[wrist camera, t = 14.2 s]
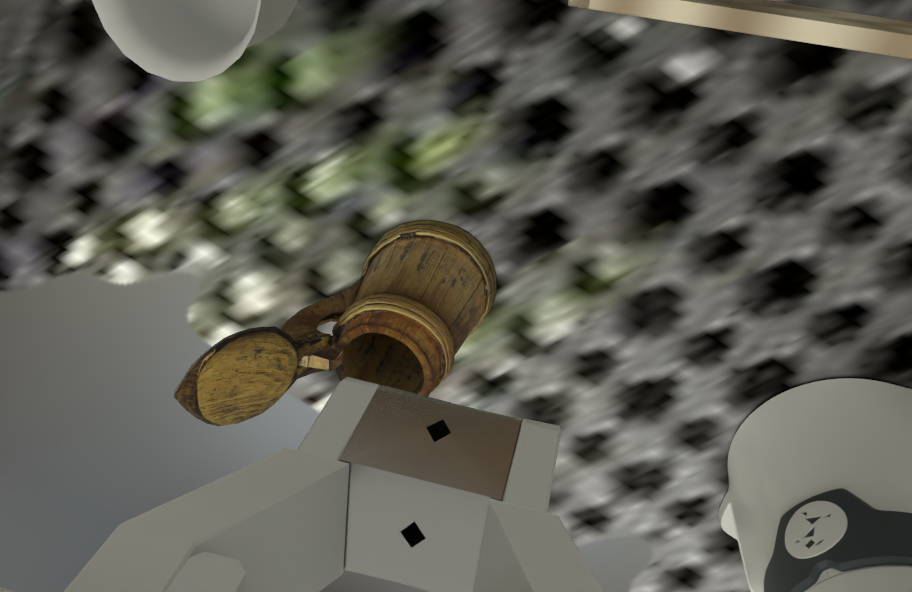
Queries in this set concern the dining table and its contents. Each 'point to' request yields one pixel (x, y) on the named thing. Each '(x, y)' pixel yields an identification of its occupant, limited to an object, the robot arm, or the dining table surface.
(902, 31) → the box
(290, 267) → the dining table surface
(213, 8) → the chalice
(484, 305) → the wooden mug
